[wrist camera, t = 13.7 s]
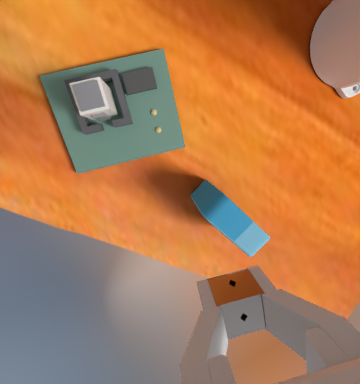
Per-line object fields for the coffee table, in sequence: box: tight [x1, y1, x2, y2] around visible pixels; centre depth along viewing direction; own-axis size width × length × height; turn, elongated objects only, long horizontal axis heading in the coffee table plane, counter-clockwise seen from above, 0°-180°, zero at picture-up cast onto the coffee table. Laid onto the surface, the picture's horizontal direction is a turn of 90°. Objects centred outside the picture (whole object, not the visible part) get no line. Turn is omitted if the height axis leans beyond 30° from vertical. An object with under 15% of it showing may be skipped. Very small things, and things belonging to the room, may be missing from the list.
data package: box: [190, 180, 270, 257], centre depth 36 cm, size 12×4×12 cm, turn 48°
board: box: [40, 49, 185, 174], centre depth 33 cm, size 20×16×3 cm
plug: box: [69, 77, 119, 121], centre depth 30 cm, size 4×4×7 cm
